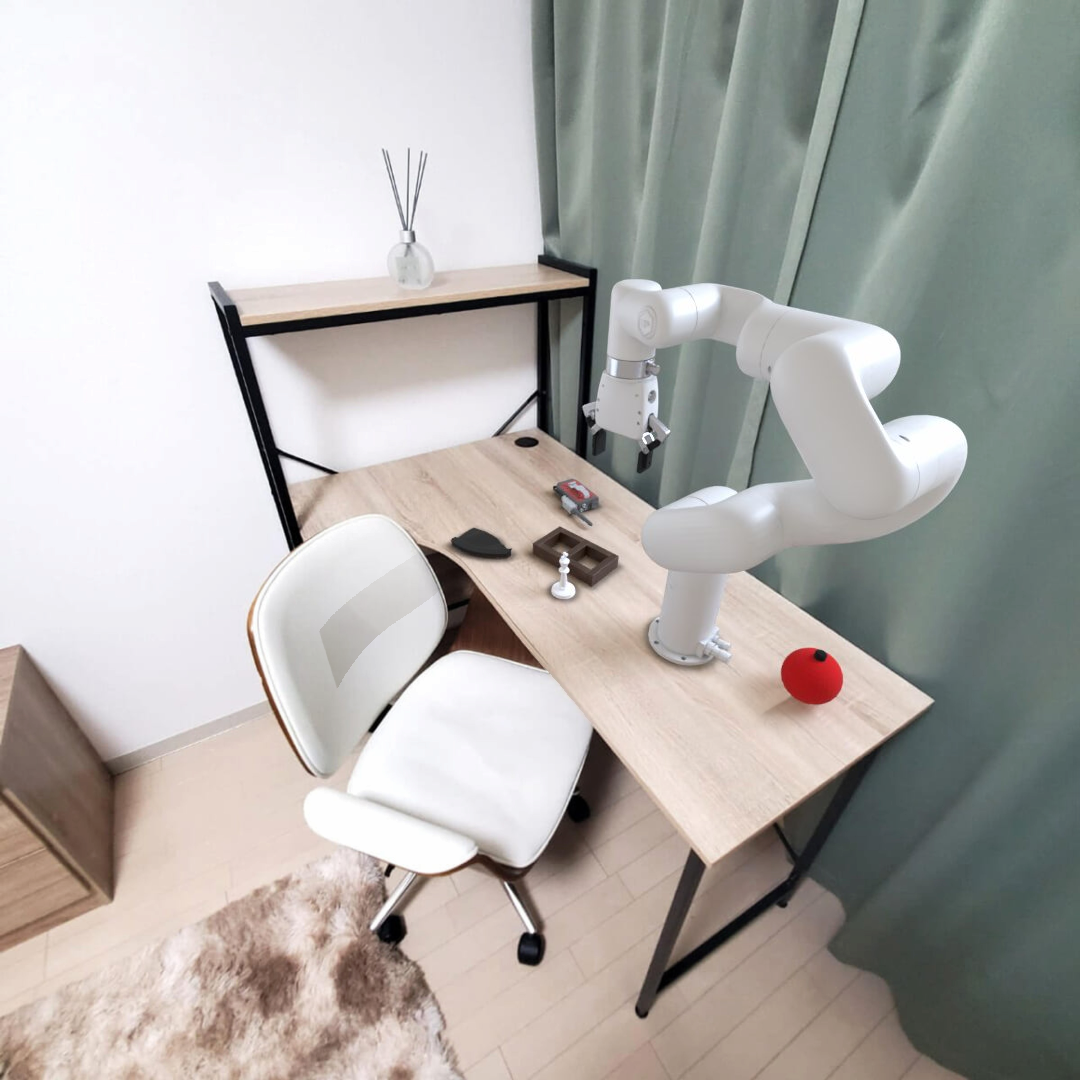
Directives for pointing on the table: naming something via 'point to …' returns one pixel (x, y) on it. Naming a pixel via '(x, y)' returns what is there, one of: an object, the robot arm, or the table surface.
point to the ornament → (811, 676)
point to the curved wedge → (480, 544)
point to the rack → (576, 555)
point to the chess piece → (563, 581)
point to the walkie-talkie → (576, 498)
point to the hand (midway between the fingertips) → (620, 461)
